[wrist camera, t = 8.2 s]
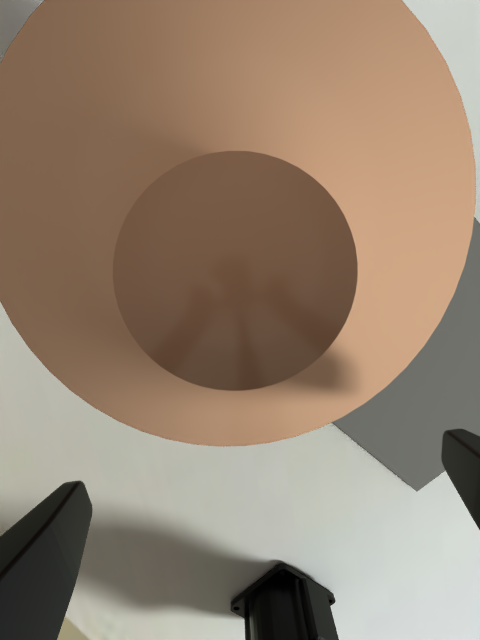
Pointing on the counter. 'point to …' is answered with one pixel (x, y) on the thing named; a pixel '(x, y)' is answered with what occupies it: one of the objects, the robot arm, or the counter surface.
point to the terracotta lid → (230, 206)
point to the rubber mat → (429, 390)
